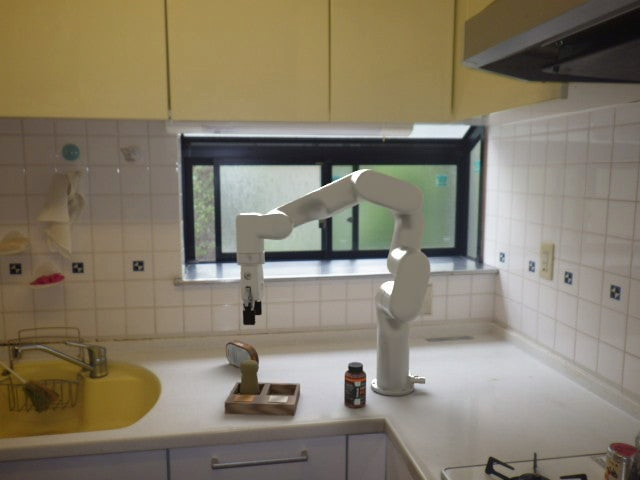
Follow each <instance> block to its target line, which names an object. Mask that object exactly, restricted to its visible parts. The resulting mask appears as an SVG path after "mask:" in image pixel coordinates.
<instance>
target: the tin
mask: <svg viewBox="0 0 640 480" xmlns="http://www.w3.org/2000/svg"><path fill="white" fill-rule="evenodd" d="M225 354H226V355H225V356H226V359H227V361H228V362H229V364H230V365H231V366H233V367H236V368H237V369H240V365H241V363H242V362H243V361H246V360H254V361H256V362H257V363H258V365H259V364H260V359H259V353H258V351H257V350H256V349H255V348H254V347H253V346H252V345H251V344H248V343H245V342H243V341H240V340H237V339H234V340H232V341H228V342H227V344H226V345H225ZM259 366H260V365H259Z"/></svg>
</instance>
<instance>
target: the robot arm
mask: <svg viewBox="0 0 640 480" xmlns="http://www.w3.org/2000/svg"><path fill="white" fill-rule="evenodd" d="M424 201H425V197H424V193H423V191H422V190H421V188H420V186H418V185H416V184H414V183H413V182H409V181H406V180H403V179H400V178H397V177H394V176H392V175H389V174H386V173H383V172H380V171H377V170H374V169H359V170H357V171H354V172H352V173H350V174H347V175H346V176H343V177H341V178H339V179H336V180H334V181H332V182H331V183H327V184H326V185H324V186H322V187H319V188H318V189H316V190H313V191H311V192H308V193H307V194H305V195H303V196H300V197H298V198H296V199H294V200H291V201H289V202H287V203H285V204H283V205H280V206H278V207H276V208H274V209H272V210H270V211H268V212H267V213H266V214H261V213H259V212H244V213H239V214H237V215H236V216H235V238H236V239H235V240H236V242H235V244H236V245H235V246H236V247H235V248H236V264H237V266H240V298H241V301H242V302H243V303H242V322H243V326H255V325H256V316H262V315H263V314H262V313H263V312H262V311H263V308H262V306H263V304H262V299H263V297H264V296H265V292H266V290H265V279H264V267H263V265H265V264H266V259H265V256H266V255H265V254H266V253H265V240H272V241H283V240H286V239H287V238H289V236H291V234H292V232H293V231H294V229H295V228H298V227H300V226H302V225H305V224H308V223H310V222H314V221H319V220H326V219H329V218H332V217H335V216H337V215H338V214H341V213H343V212H344V211H346V210H349V209H350V208H353V207H356V206H358V205H359V204H361V203H363V202H368V203H370V204H372V205H376V206H378V207H381V208H385V209H387V210H388V211H390V213H391V214H392V216H393V222H394V227H393V228H394V229H393V234H392V239H391V243H390V248H389V252H388V255H387V259H386V268H387V270H388V272H389V273H390V274H391V275H392V276H393V277H394V280H390V281H386V282H383V283H382V284H381V285H380V286H379V288H378V289H377V290H376V293H375V301H374V302H375V312H376V376H375V378H374V379H372V380H371V382H370V387H371V389H372V390H373V391H375V392H376V393H378V394H381V395H384V396H393V397H394V396H395V397H396V396H398V397H399V396H405V395H408V394H411V393H413V391H414V390H415V384H419V385H425V384H426V377H425V376H422V377H421V375H420V374H412V373H411V372H410V347H411V346H410V339H411V324H410V323H411V322H414V320H416V319H417V318H418V317H419V315H420V313H421V312H422V308H423V306H424V302H425V297H426V294H427V289H428V285H429V280H430V276H431V263H430V260H429V258H428V256H427V255H426V254H425V253H424V252H423V251H421V250H422V247H423V246H422V245H423V241H424V240H423V239H424V235H425V228H426V227H425V225H426V224H425V223H426V222H425V216H424V213H423V211H422V207H423V206H424Z"/></svg>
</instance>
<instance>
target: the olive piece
mask: <svg viewBox="0 0 640 480" xmlns="http://www.w3.org/2000/svg"><path fill="white" fill-rule="evenodd" d="M259 366H260V365H258V363H257V362H256V361H254V360H246V361H243V362H242V363H241V365H240V368H239V370H240V373H241V379H240V382H241V387H240V393H239V394H242V395H260V391H259V384H258V382H259V379H258V371H259V369H260V367H259Z"/></svg>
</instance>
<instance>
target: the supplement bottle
mask: <svg viewBox="0 0 640 480" xmlns="http://www.w3.org/2000/svg"><path fill="white" fill-rule="evenodd" d="M343 387H344V389H343V390H344V394H343V395H344V396H343V397H344V398H343V399H344V402H343V403H344V405H346V406H347V407H349V408H352V409H358V408H359V409H360V408H364V406H366V402H367V373H366V372H365V370H364V365H363V363H361V362H358V361H353V362H349V363H348V365H347V370H346V371H345V372H344V386H343Z"/></svg>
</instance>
